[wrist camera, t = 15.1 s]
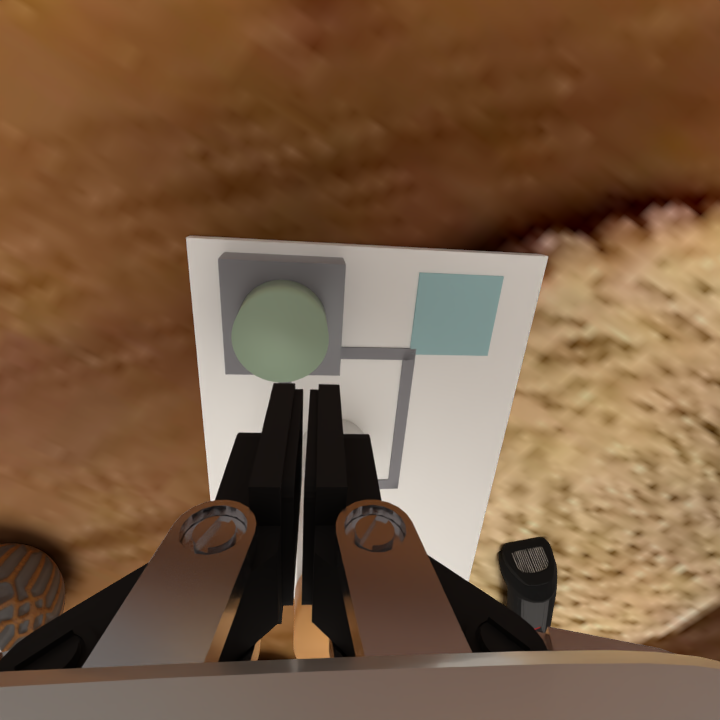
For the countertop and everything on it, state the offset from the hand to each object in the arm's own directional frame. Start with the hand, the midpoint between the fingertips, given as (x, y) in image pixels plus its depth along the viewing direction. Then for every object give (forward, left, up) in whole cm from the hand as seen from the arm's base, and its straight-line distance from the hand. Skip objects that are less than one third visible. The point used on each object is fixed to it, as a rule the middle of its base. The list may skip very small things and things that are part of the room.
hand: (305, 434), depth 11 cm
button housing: (+1, 0, -9) cm, 9 cm away
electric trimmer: (-16, +22, -10) cm, 29 cm away
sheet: (-3, +8, -10) cm, 13 cm away
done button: (+1, 0, -8) cm, 8 cm away
